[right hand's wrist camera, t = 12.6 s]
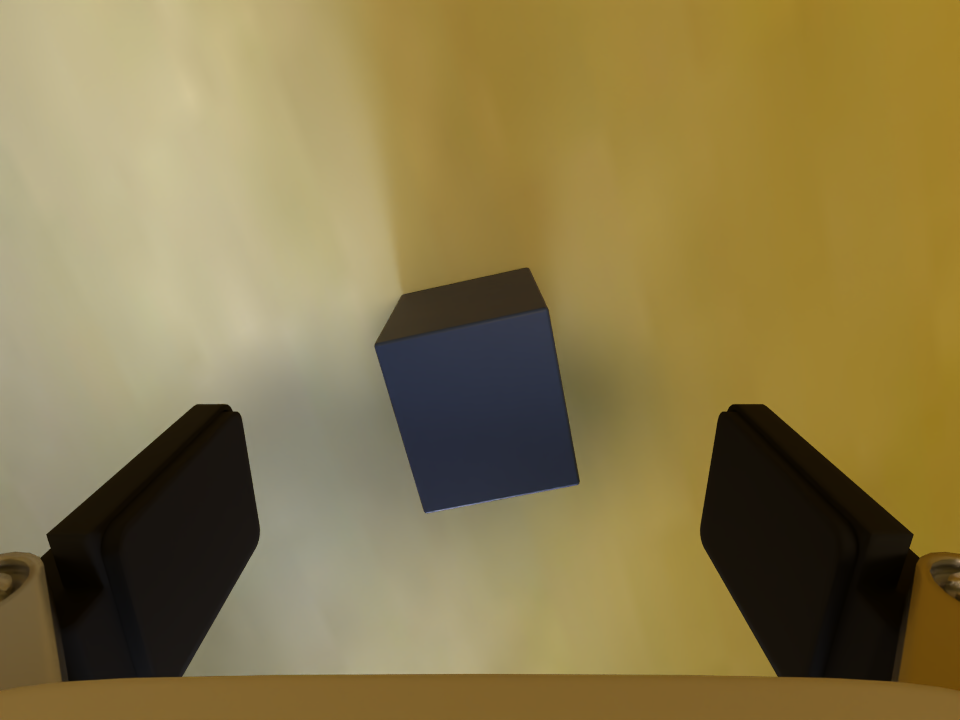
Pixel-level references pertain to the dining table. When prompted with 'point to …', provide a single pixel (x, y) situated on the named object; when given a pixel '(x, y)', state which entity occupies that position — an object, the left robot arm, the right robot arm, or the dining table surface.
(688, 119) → the dining table surface
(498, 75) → the dining table surface
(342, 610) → the dining table surface
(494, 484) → the brick
